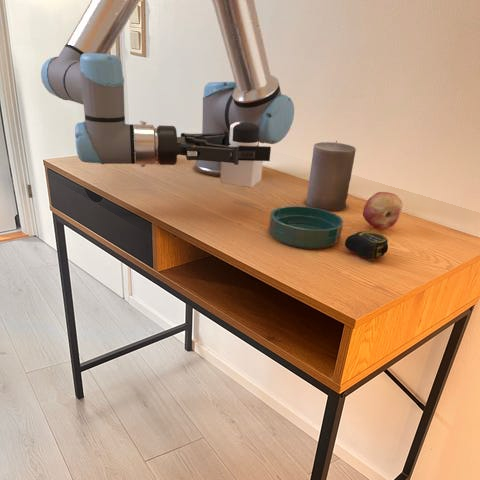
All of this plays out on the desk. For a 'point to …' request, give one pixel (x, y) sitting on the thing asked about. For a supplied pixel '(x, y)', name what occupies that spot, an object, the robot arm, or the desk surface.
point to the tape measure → (367, 244)
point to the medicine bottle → (245, 170)
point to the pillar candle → (330, 175)
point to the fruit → (382, 210)
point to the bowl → (305, 227)
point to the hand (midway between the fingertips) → (263, 148)
